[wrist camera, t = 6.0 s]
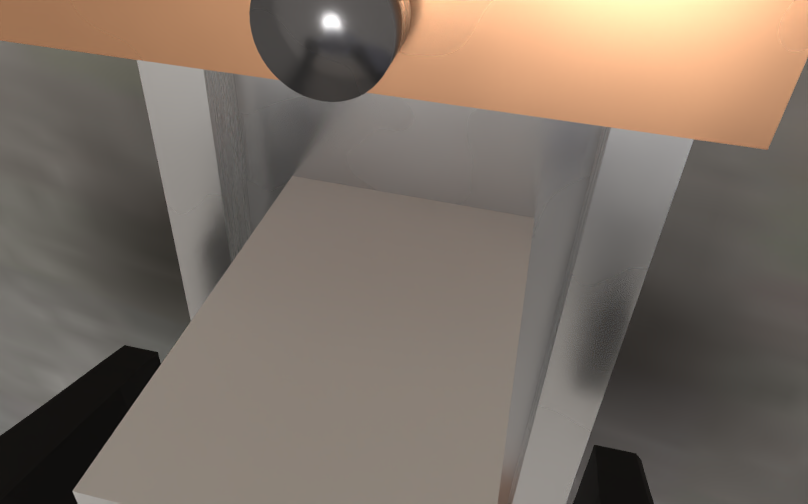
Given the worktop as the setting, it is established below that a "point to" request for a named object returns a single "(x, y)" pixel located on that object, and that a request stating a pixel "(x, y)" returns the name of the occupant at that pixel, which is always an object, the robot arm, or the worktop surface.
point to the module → (336, 362)
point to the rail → (455, 141)
